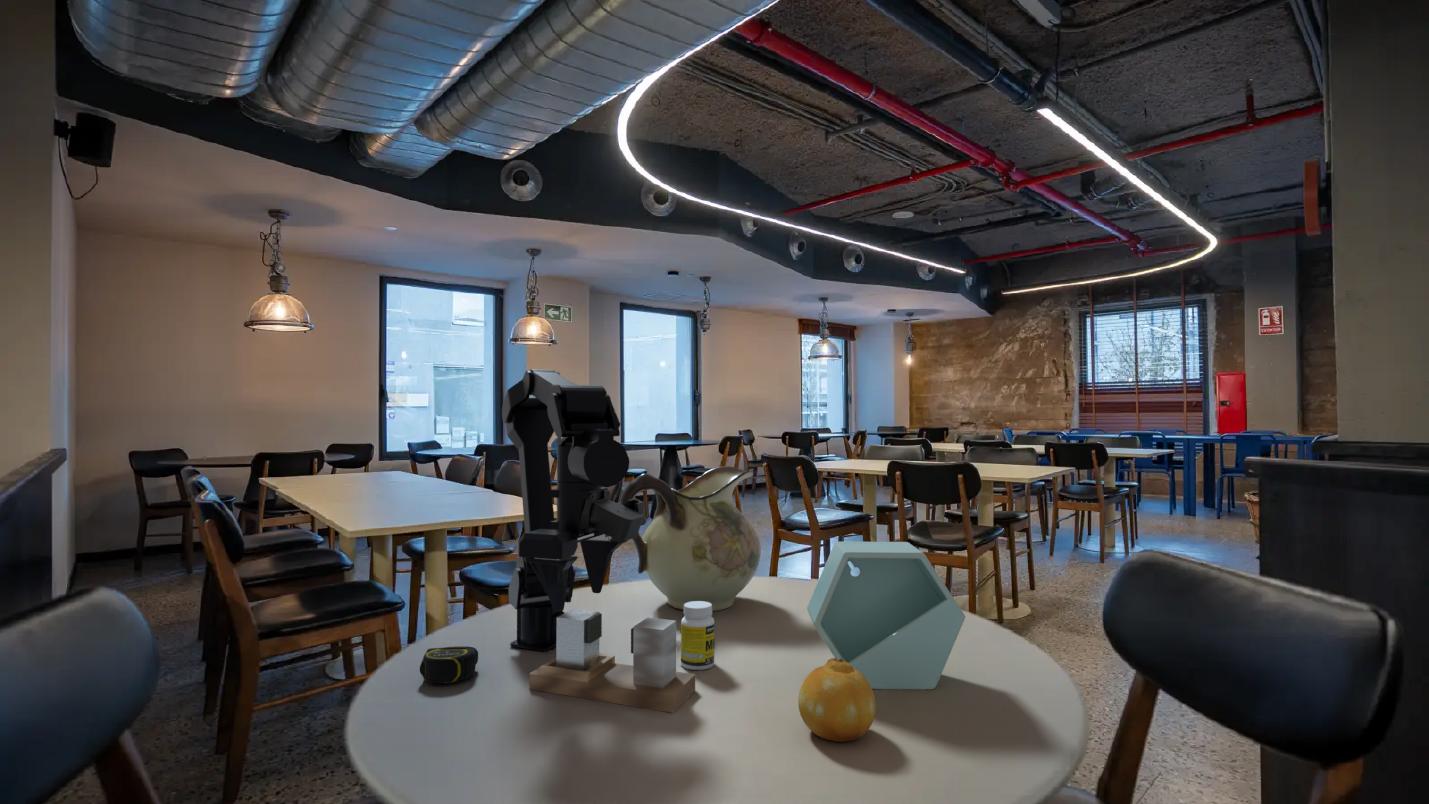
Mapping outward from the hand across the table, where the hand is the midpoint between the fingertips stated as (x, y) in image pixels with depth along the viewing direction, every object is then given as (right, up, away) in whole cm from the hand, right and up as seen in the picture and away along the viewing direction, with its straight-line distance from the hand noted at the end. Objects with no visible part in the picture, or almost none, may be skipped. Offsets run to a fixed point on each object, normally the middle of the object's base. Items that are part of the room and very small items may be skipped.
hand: (578, 601), depth 89 cm
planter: (+40, -11, +2) cm, 42 cm away
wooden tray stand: (+5, -11, -2) cm, 12 cm away
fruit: (+31, -11, -14) cm, 36 cm away
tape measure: (-18, -11, +3) cm, 22 cm away
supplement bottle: (+15, -11, +7) cm, 20 cm away
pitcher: (+15, -12, +38) cm, 43 cm away
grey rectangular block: (0, -9, 0) cm, 9 cm away
